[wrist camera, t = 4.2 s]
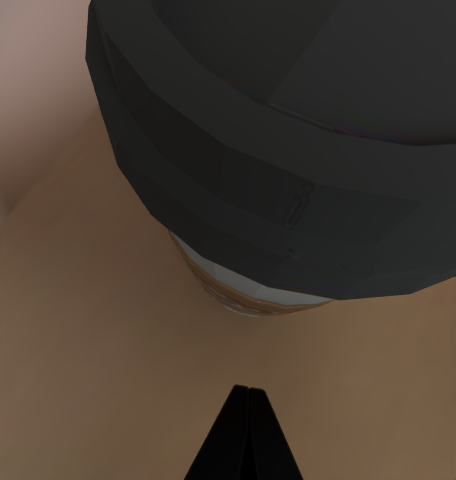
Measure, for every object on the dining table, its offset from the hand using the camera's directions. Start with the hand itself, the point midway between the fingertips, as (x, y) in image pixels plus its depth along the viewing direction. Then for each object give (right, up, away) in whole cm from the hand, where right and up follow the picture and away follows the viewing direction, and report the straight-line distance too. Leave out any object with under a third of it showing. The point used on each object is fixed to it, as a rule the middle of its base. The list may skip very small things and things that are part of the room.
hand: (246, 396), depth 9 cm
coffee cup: (+1, +3, +9) cm, 10 cm away
